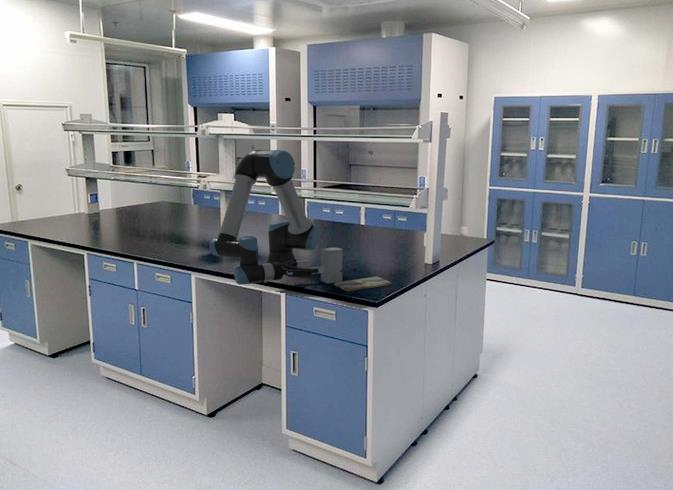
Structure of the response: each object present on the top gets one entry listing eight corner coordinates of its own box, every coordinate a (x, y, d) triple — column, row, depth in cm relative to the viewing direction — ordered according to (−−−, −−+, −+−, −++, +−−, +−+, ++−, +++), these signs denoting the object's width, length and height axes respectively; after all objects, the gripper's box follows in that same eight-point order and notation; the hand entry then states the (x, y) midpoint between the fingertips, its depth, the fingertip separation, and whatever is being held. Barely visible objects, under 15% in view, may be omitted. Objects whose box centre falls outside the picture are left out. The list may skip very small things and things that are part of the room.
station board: (333, 284, 239) (333, 282, 239) (376, 278, 249) (376, 276, 249) (347, 291, 229) (347, 289, 228) (391, 284, 239) (391, 282, 238)
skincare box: (327, 284, 240) (327, 251, 237) (320, 281, 245) (319, 248, 242) (343, 281, 245) (343, 248, 242) (335, 278, 250) (335, 246, 247)
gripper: (261, 273, 242) (305, 268, 251) (283, 287, 220) (330, 280, 230) (261, 257, 240) (305, 252, 250) (282, 269, 218) (330, 263, 228)
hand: (317, 265), depth 240 cm, fingers open, 13 cm apart
